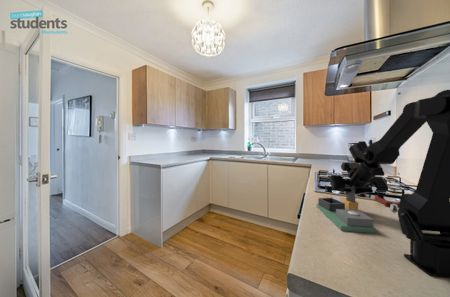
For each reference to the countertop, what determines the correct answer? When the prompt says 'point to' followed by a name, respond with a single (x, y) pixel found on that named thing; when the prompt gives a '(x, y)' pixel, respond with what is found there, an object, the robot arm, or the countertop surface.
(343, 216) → the grey button box
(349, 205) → the plug
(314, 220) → the countertop surface
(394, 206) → the pliers
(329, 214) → the board
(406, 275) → the countertop surface
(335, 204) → the frame
